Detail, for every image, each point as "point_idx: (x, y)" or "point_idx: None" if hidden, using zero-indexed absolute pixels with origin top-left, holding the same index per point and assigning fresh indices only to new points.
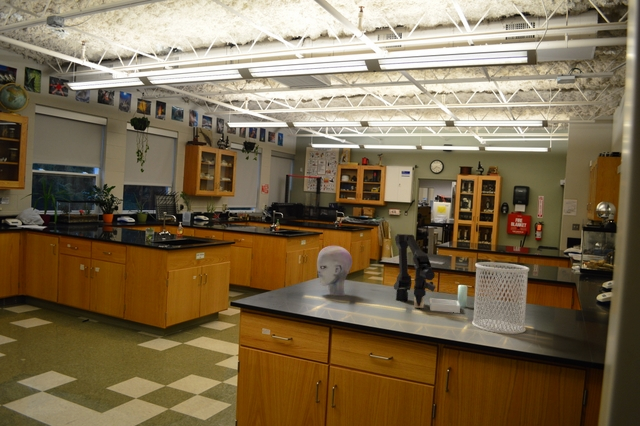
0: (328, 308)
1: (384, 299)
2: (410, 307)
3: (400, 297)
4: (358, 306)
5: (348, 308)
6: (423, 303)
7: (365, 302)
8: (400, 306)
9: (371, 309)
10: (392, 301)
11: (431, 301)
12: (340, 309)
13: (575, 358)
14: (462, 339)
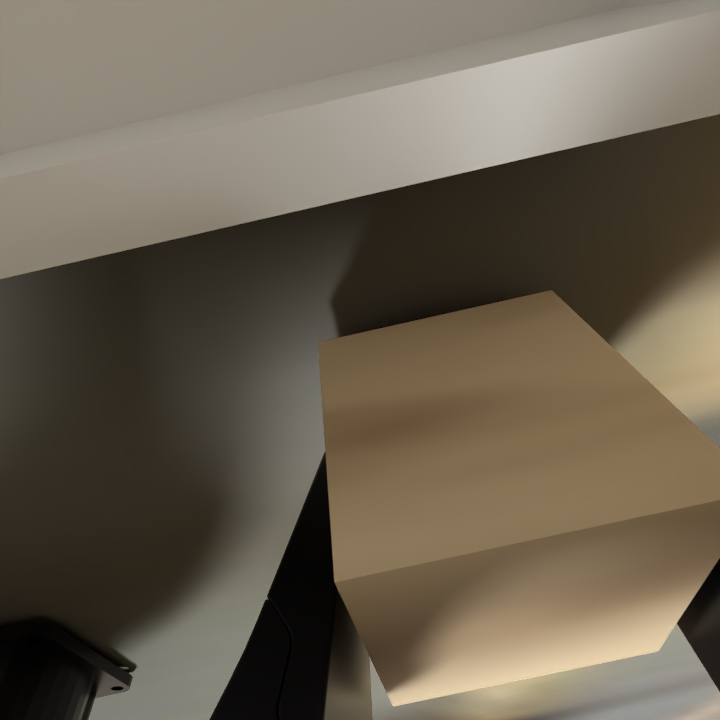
0: (696, 717)
1: (199, 713)
2: None
3: (75, 711)
4: (604, 692)
5: (681, 692)
6: (626, 367)
7: (442, 715)
8: None
9: None
10: (232, 668)
11: (382, 113)
12: (716, 696)
13: None
14: None
